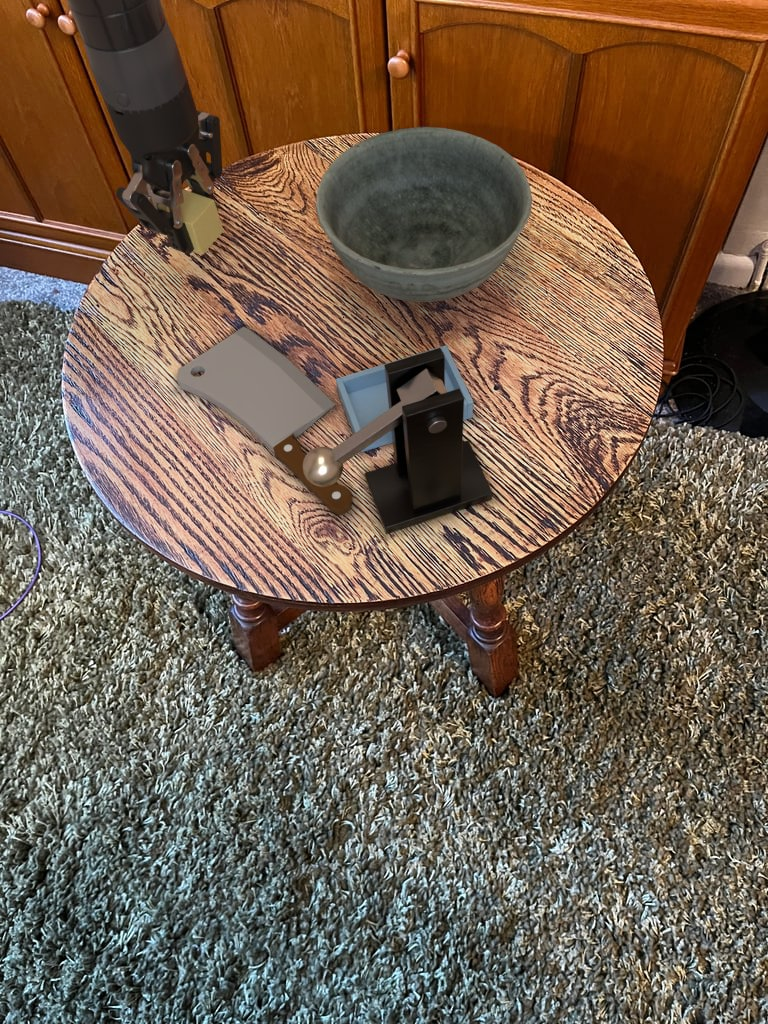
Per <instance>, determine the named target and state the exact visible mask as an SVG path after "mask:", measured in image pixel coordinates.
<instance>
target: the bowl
mask: <svg viewBox="0 0 768 1024" xmlns="http://www.w3.org/2000/svg"><path fill="white" fill-rule="evenodd" d="M317 187H318V188H317V190H316V199H315V212H316V215H317V221H318V223H319V226H320V227H321V229H322V230H323V232H324V234H325V235H326V238H327V239H328V240H329V242H330V244H331V247H332V248H333V250H334V252H335V253H336V255H337V256H338V258H339V260H340V261H341V263H342V264H343V265H344V266H345V268H346V269H347V270H348V271H349V272H350V273H351V274H352V275H353V276H354V277H355V278H356V279H357V280H358V281H359V282H360V283H362V284H363V285H364V286H366V287H368V288H370V289H371V290H372V291H374V292H376V293H378V294H380V295H383V296H386V297H388V298H392V299H394V300H400V301H404V302H405V301H406V302H411V303H433V302H442V301H443V302H444V301H448V300H450V299H453V298H456V297H459V296H462V295H464V294H466V293H469V292H471V291H473V290H475V289H477V288H479V287H480V286H481V285H482V284H484V283H485V282H486V281H487V280H488V279H490V278H491V277H492V276H493V275H494V274H495V272H496V271H497V270H498V269H499V268H500V267H501V266H502V264H503V263H504V262H505V261H506V260H507V257H508V256H509V254H510V253H511V251H512V249H513V247H514V246H515V244H516V242H517V240H518V238H519V235H520V234H521V233H522V232H523V230H524V228H525V227H526V224H527V222H528V220H529V219H530V216H531V213H532V205H533V196H532V190H531V185H530V182H529V180H528V178H527V176H526V173H525V171H524V169H523V168H522V167H521V165H520V164H519V163H518V161H517V160H516V159H515V158H514V157H513V156H512V155H511V154H509V153H508V152H507V151H506V150H504V149H503V148H502V147H501V146H498V145H497V144H495V143H493V142H491V141H489V140H487V139H484V138H482V137H480V136H477V135H474V134H471V133H468V132H465V131H462V130H455V129H450V128H445V127H435V126H434V127H433V126H432V127H431V126H417V127H409V128H408V127H407V128H400V129H396V130H391V131H390V130H389V131H386V132H381V133H378V134H375V135H373V136H371V137H368V138H365V139H362V140H361V141H359V142H358V143H356V144H354V145H352V146H350V147H348V148H347V149H346V150H344V151H343V152H342V153H341V154H340V155H339V156H338V157H337V158H335V160H334V161H333V162H332V163H330V165H329V167H328V168H327V169H326V171H325V172H324V173H323V175H322V176H321V180H320V182H319V185H318V186H317Z"/></svg>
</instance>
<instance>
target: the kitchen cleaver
mask: <svg viewBox="0 0 768 1024" xmlns="http://www.w3.org/2000/svg"><path fill="white" fill-rule="evenodd" d="M199 372H202V373H203V374H201V375H200V376H195V375H196V374H197V373H199ZM177 384H178V386H179V388H180V390H183V391H186V392H189V393H190V394H193V395H196V396H198V397H201V398H203V399H204V400H206V401H208V402H209V403H211V404H213V405H214V406H216V407H218V408H220V409H221V410H222V411H225V412H226V413H227V414H228V415H230V416H231V417H232V418H234V419H235V420H236V421H237V422H239V423H240V424H241V425H242V426H244V427H245V428H246V429H247V430H248V431H249V432H250V433H251V434H252V435H254V436H255V438H257V440H259V441H260V442H261V443H262V444H263V445H264V446H265V447H267V449H269V450H270V451H271V452H272V453H273V454H274V456H275V457H276V458H277V459H278V460H279V461H280V462H281V463H282V464H283V465H284V466H285V467H286V468H287V469H288V470H289V471H290V472H291V473H292V474H293V475H294V476H295V477H296V478H297V479H298V480H299V481H300V482H301V483H302V484H303V485H304V486H305V487H306V488H307V489H308V490H309V491H310V492H311V493H312V494H313V495H314V496H315V497H317V499H318V500H319V501H320V502H321V503H322V504H324V506H325V507H326V508H327V509H328V510H329V511H330V512H332V513H333V514H335V515H337V516H343V515H345V514H347V513H348V512H349V511H351V509H352V507H353V493H352V492H351V490H349V489H348V488H347V487H346V486H345V485H342V484H339V483H337V482H336V483H334V484H333V485H331V486H327V487H319V486H316V485H313V484H312V483H310V482H309V481H308V480H307V478H306V477H305V475H304V472H303V461H304V458H305V456H306V455H307V454H305V453H304V451H303V450H302V447H301V444H300V442H299V441H298V440H296V439H298V438H299V436H301V435H302V434H303V433H305V431H307V430H308V429H309V428H310V427H311V426H312V425H313V424H315V423H316V422H317V421H318V420H319V419H321V418H322V417H323V416H324V415H325V414H327V413H328V412H329V411H330V410H332V409H333V408H335V407H336V403H335V402H334V401H332V399H331V398H330V397H328V396H327V395H326V394H325V393H324V392H323V390H322V389H320V388H319V387H318V386H317V384H315V383H314V382H313V381H312V380H311V379H310V378H309V377H308V376H307V375H306V374H305V373H304V372H303V371H301V370H300V368H298V367H297V366H296V365H295V364H294V363H293V362H292V361H291V360H290V359H289V358H288V357H286V356H285V355H283V354H282V353H281V352H280V351H279V350H278V349H276V348H274V347H273V346H272V345H271V344H269V343H268V342H266V341H265V340H264V339H262V338H261V337H260V336H259V335H258V334H256V333H255V332H253V331H252V330H251V329H250V328H248V327H245V326H242V327H240V328H239V329H238V330H236V331H235V332H234V333H232V334H231V335H229V336H227V337H226V338H224V339H223V340H221V341H219V342H218V343H217V344H215V345H213V346H212V347H210V348H209V349H208V350H205V351H204V352H203V353H201V354H200V355H198V356H197V357H195V358H193V359H192V360H190V361H189V362H188V363H186V364H184V365H183V366H182V367H180V368H178V369H177Z"/></svg>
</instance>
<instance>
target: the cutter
mask: <svg viewBox="0 0 768 1024" xmlns="http://www.w3.org/2000/svg"><path fill="white" fill-rule="evenodd" d="M436 348H437V349H435V348H433V349H434V350H432V349H430V350H431V351H429V350H426V351H427V352H425V351H423V352H424V353H422V352H420V353H421V354H419V353H417V354H418V355H415V354H413V355H414V356H412V355H410V356H411V357H409V356H407V357H408V358H406V357H403V358H404V359H402V358H400V359H401V360H399V359H397V360H398V361H396V360H394V361H395V362H393V361H390V362H391V363H389V362H387V363H388V364H386V363H384V364H385V365H384V367H385V376H386V385H387V394H388V403H389V409H390V408H391V407H393V406H394V405H396V404H397V403H399V402H400V401H401V399H400V397H399V394H398V392H397V389H398V388H399V387H401V386H402V385H404V384H405V383H406V382H408V381H409V380H411V379H412V378H413V377H415V376H416V375H418V374H419V373H420V372H422V371H423V370H425V369H428V370H429V371H430V372H432V373H433V374H434V375H435V376H437V377H438V378H439V379H440V380H442V382H443V384H444V386H445V356H444V354H443V352H442V350H441V348H438V347H436ZM402 414H403V423H401V424H400V425H398V426H397V427H395V428H394V429H393V430H392V439H393V443H392V447H393V455H394V456H393V457H394V463H392V464H388V465H386V466H382V467H379V468H376V469H373V470H370V471H367V472H364V478H365V482H366V485H367V487H368V490H369V492H370V493H369V494H370V496H371V498H372V502H373V503H374V507H375V509H376V511H377V514H378V517H379V520H380V522H381V525H382V528H383V531H384V533H385V534H386V535H388V534H391V533H395V532H398V531H400V530H404V529H406V528H410V527H413V526H416V525H419V524H422V523H425V522H428V521H431V520H434V519H438V518H440V517H443V516H447V515H450V514H453V513H456V512H458V511H462V510H464V509H468V508H471V507H475V506H477V505H481V504H483V503H486V502H490V501H492V500H493V495H494V493H493V491H492V488H491V486H490V484H489V482H488V480H487V477H486V475H485V473H484V471H483V469H482V467H481V464H480V462H479V460H478V458H477V455H476V453H475V452H474V449H473V447H472V445H471V443H470V441H469V439H468V440H467V439H466V440H464V420H463V418H464V397H463V395H462V393H461V390H460V389H456V390H453V391H450V392H446V393H443V394H440V395H437V396H433V397H430V398H427V399H424V400H421V401H417V402H414V403H411V404H408V405H404V406H402Z"/></svg>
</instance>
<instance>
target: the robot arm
mask: <svg viewBox="0 0 768 1024" xmlns="http://www.w3.org/2000/svg"><path fill="white" fill-rule="evenodd" d="M66 4H67V6H68V9H69V11H70V13H71V16H72V18H73V20H74V23H75V26H76V28H77V31H78V33H79V35H80V38H81V41H82V43H83V46H84V50H85V54H86V58H87V61H88V64H89V68H90V70H91V73H92V75H93V78H94V81H95V82H96V85H97V87H98V90H99V93H100V95H101V98H102V100H103V102H104V105H105V107H106V110H107V112H108V114H109V117H110V119H111V122H112V124H113V127H114V129H115V132H116V134H117V137H118V139H119V140H120V142H121V143H122V144H123V146H124V147H125V149H126V150H127V151H128V154H129V155H130V161H131V162H130V163H131V171H132V174H133V176H132V178H131V180H130V181H129V184H128V185H127V187H124V186H119V187H118V188H117V189H116V193H115V195H116V198H117V200H118V201H119V202H120V203H121V204H122V205H123V206H124V207H125V208H126V210H128V212H130V214H131V215H132V216H133V217H134V218H135V219H136V220H137V221H138V223H139V224H140V225H142V226H143V228H145V229H147V230H151V231H153V232H156V233H159V234H160V235H163V236H166V238H167V240H168V243H169V245H170V247H171V248H172V249H173V250H175V251H178V252H180V253H183V254H187V255H191V254H192V253H193V250H194V247H193V244H192V241H191V238H190V236H189V233H188V230H187V227H186V225H185V223H183V218H182V211H181V204H183V203H184V197H183V185H184V183H186V185H187V186H188V187H189V188H190V189H192V190H191V191H190V192H192V193H195V194H198V195H201V196H204V197H207V198H210V199H213V200H214V201H215V204H216V208H217V211H218V212H219V208H218V204H217V201H216V197H215V195H214V192H215V191H214V190H215V184H214V182H215V180H216V179H220V178H221V177H222V175H223V157H222V155H223V154H222V153H223V152H222V139H221V122H220V121H221V120H220V117H219V116H217V115H214V114H211V113H208V112H204V111H202V110H198V109H197V107H196V104H195V100H194V97H193V93H192V90H191V86H190V84H189V80H188V76H187V73H186V70H185V68H184V63H183V60H182V56H181V53H180V51H179V47H178V44H177V41H176V39H175V36H174V34H173V32H172V29H171V28H170V26H169V23H168V20H167V17H166V15H165V11H164V8H163V5H162V2H161V0H66ZM207 154H209V156H210V161H208V158H207ZM167 206H168V208H169V211H170V212H167V209H166V207H167Z"/></svg>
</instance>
